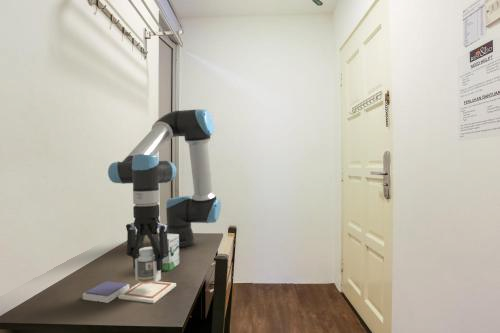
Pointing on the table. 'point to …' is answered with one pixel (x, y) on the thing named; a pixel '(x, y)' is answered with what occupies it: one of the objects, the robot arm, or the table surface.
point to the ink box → (171, 252)
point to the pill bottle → (145, 265)
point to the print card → (147, 291)
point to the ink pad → (105, 291)
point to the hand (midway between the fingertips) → (148, 279)
